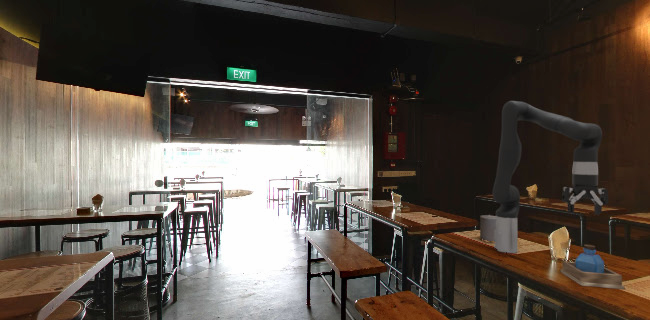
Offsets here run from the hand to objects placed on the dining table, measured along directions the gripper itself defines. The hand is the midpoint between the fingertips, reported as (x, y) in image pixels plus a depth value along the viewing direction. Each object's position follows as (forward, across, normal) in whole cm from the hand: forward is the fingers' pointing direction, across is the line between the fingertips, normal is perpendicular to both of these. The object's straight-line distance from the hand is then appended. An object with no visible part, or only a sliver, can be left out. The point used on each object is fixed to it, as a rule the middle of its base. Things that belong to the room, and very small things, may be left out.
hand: (584, 213), depth 112 cm
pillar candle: (+26, -20, +46) cm, 57 cm away
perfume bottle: (+23, -1, -5) cm, 24 cm away
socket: (+24, -1, -6) cm, 25 cm away
